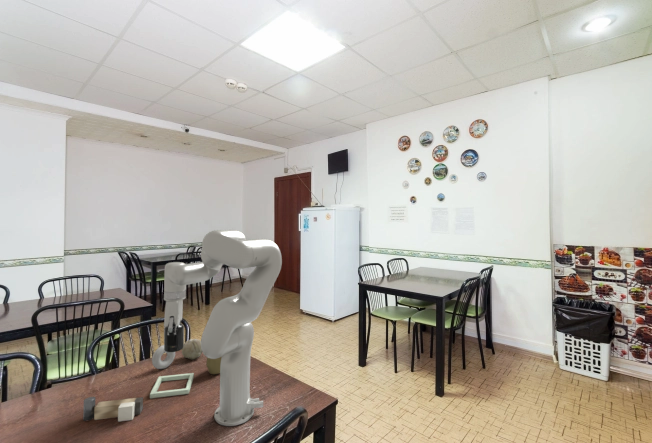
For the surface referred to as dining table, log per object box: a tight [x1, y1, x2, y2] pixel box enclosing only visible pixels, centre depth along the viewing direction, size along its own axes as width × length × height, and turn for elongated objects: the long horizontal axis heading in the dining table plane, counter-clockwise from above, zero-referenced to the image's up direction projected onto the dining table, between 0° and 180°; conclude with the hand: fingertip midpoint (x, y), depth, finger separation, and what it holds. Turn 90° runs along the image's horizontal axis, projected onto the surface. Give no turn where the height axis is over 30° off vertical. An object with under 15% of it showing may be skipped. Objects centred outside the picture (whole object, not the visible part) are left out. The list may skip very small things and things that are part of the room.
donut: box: [151, 344, 176, 370], centre depth 133 cm, size 10×4×10 cm, turn 149°
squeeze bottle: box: [206, 357, 222, 375], centre depth 132 cm, size 8×8×18 cm
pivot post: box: [82, 396, 96, 422], centre depth 100 cm, size 3×3×6 cm
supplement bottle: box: [163, 320, 185, 353], centre depth 119 cm, size 7×7×12 cm
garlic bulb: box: [181, 338, 203, 361], centre depth 144 cm, size 9×8×10 cm
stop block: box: [117, 402, 135, 422], centre depth 100 cm, size 4×2×4 cm, turn 106°
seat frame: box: [149, 372, 195, 399], centre depth 119 cm, size 13×13×2 cm
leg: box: [93, 396, 144, 421], centre depth 102 cm, size 13×3×4 cm, turn 105°
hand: (174, 340), depth 119 cm, fingers closed on supplement bottle, 6 cm apart
